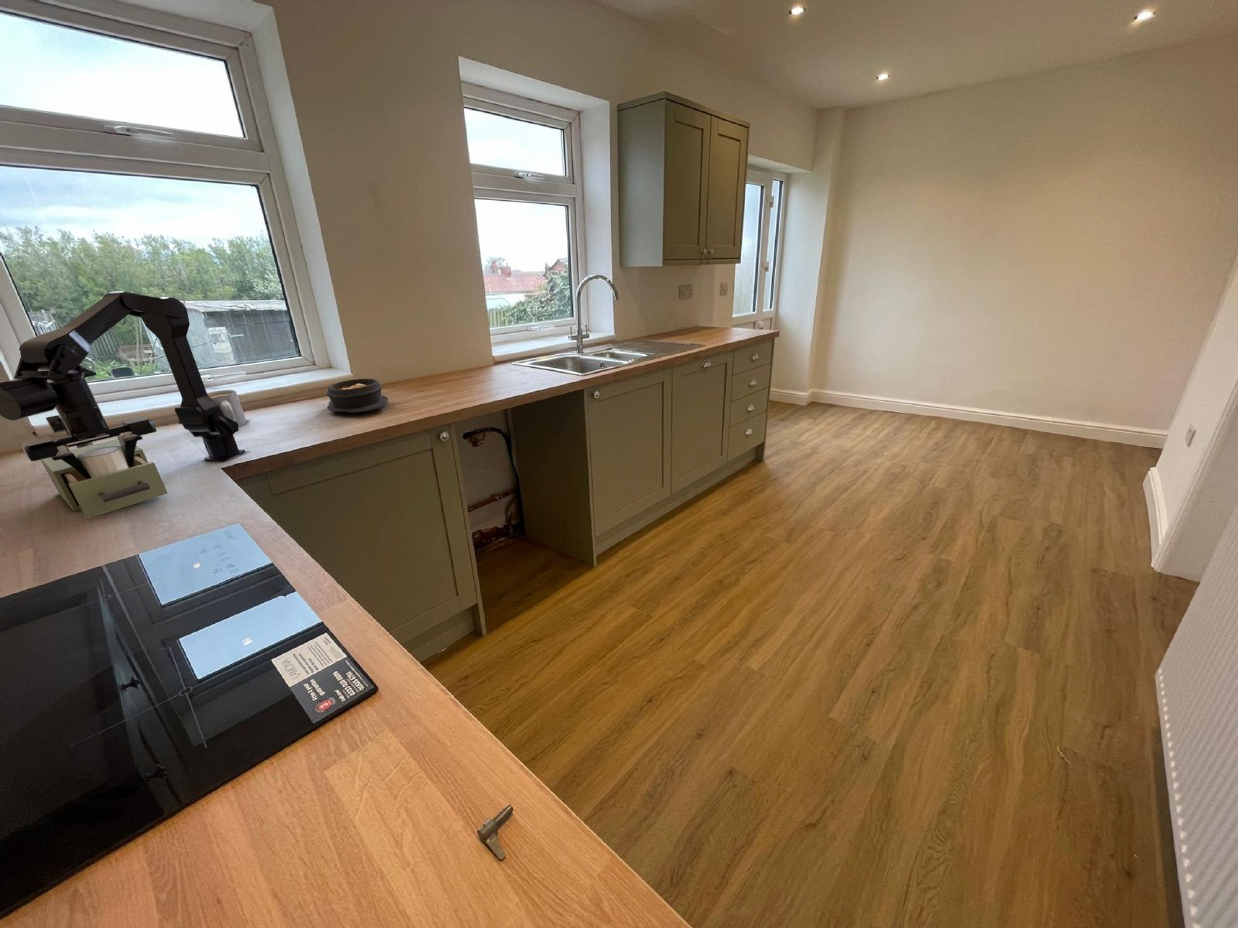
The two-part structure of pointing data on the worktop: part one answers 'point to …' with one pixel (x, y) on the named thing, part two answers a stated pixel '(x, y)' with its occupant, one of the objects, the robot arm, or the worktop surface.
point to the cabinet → (61, 467)
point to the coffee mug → (229, 405)
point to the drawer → (116, 488)
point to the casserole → (356, 396)
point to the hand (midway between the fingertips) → (111, 475)
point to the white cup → (103, 460)
